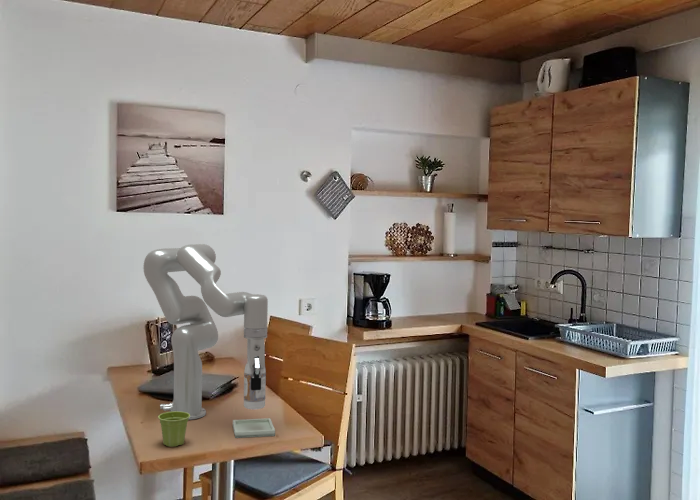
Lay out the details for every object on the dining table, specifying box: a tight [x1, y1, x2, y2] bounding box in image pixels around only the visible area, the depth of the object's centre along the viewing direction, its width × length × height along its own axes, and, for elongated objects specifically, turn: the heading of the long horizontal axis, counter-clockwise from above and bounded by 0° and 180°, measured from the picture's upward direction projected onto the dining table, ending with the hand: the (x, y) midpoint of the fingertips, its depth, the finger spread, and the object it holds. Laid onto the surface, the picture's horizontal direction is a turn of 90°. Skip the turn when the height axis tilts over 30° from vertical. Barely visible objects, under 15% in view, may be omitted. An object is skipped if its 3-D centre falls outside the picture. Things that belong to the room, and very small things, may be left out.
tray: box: [232, 417, 276, 439], centre depth 211 cm, size 13×13×2 cm
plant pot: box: [157, 411, 190, 448], centre depth 197 cm, size 9×9×9 cm
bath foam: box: [243, 347, 267, 410], centre depth 210 cm, size 7×7×20 cm
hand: (254, 386), depth 210 cm, fingers closed on bath foam, 7 cm apart
